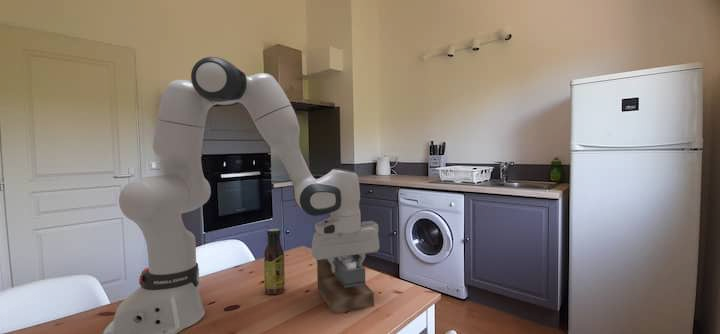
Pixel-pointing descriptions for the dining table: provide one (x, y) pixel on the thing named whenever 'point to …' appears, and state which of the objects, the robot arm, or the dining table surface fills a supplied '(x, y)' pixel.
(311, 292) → the dining table surface
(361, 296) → the walnut shelf
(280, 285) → the sauce bottle
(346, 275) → the grey egg holder
